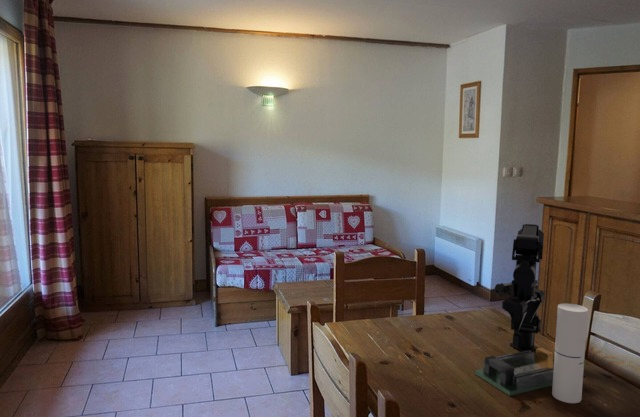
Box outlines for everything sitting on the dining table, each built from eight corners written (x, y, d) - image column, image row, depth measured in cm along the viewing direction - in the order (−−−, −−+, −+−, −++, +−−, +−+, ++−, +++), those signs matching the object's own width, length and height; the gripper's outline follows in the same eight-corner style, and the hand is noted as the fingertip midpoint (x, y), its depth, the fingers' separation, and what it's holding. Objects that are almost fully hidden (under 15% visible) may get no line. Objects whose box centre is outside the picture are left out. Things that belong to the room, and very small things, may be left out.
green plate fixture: (530, 362, 154) (531, 343, 153) (568, 381, 141) (569, 361, 140) (474, 374, 146) (475, 354, 145) (509, 395, 133) (510, 374, 132)
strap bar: (540, 364, 149) (541, 347, 148) (552, 370, 145) (553, 353, 144) (505, 372, 144) (506, 354, 143) (516, 378, 140) (517, 360, 139)
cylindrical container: (546, 390, 136) (552, 303, 133) (571, 389, 136) (577, 303, 133) (561, 403, 129) (567, 312, 126) (587, 402, 129) (594, 311, 126)
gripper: (511, 267, 160) (509, 312, 162) (486, 278, 147) (483, 327, 149) (547, 273, 152) (544, 321, 154) (523, 285, 139) (520, 337, 141)
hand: (522, 326), depth 150 cm, fingers open, 9 cm apart
